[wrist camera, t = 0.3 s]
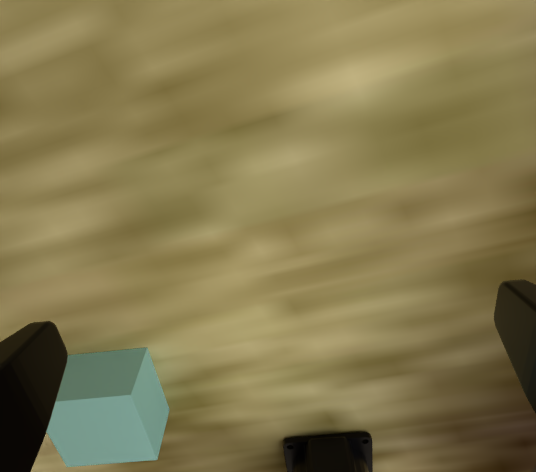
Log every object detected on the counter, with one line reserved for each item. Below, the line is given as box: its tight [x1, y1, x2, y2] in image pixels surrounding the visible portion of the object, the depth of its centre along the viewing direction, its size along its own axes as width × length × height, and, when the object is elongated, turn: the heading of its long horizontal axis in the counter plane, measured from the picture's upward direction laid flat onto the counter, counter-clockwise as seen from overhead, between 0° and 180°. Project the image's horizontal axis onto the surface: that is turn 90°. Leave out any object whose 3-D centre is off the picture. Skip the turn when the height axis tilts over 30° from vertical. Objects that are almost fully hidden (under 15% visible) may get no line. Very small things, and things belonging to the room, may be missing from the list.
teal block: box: [46, 348, 169, 467], centre depth 28 cm, size 6×6×4 cm
